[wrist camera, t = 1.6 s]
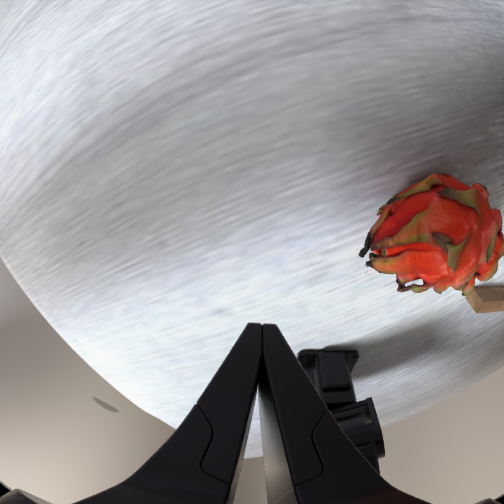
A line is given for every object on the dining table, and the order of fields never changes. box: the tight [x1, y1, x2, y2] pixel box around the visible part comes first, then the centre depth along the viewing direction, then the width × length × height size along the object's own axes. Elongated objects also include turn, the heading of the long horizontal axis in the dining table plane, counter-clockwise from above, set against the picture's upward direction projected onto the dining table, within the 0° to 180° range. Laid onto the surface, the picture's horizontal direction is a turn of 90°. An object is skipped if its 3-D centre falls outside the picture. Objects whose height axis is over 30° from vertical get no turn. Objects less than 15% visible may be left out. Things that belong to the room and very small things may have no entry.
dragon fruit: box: [359, 173, 504, 296], centre depth 16 cm, size 8×8×12 cm
